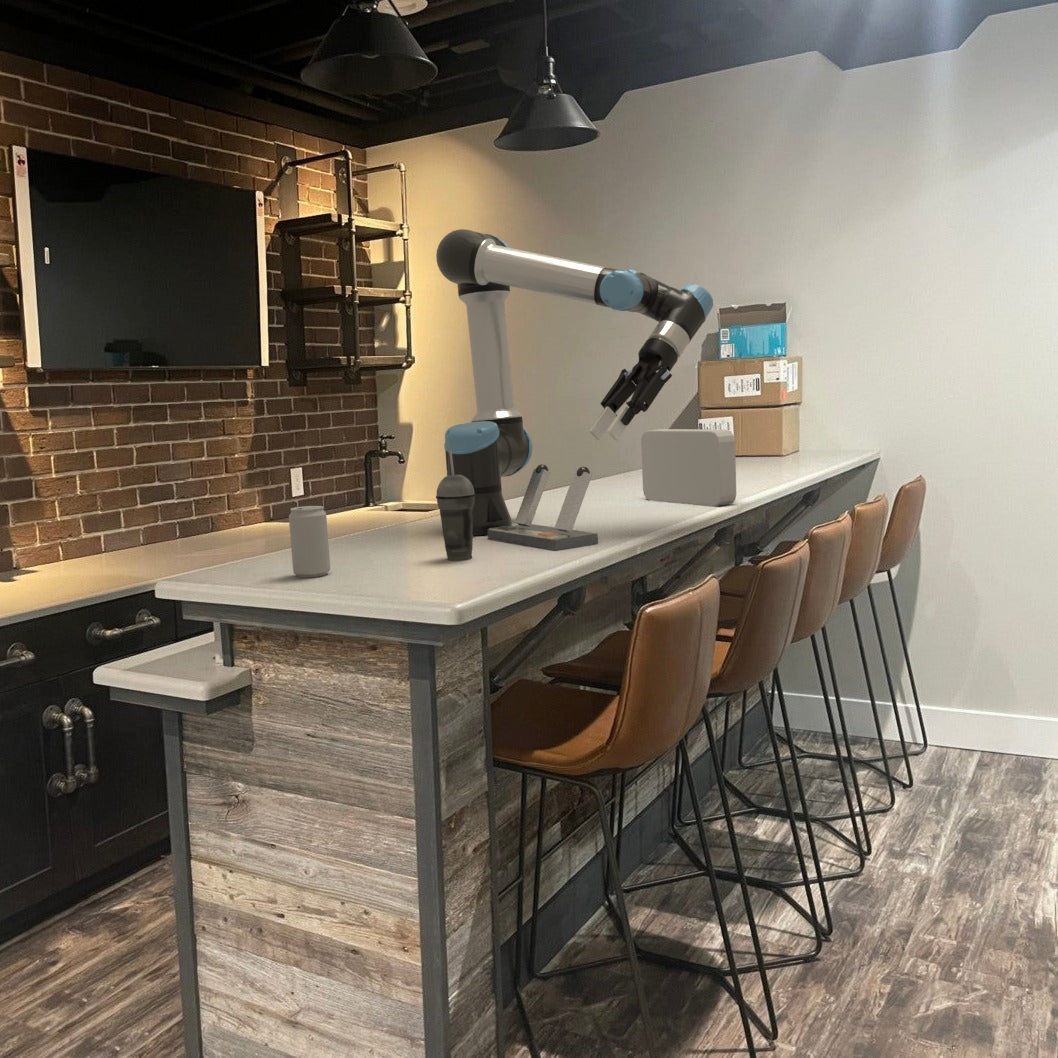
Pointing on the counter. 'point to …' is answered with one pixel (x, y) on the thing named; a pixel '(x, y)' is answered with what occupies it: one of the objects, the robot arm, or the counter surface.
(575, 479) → the outer lever
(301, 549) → the beverage can
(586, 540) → the switch base
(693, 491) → the gray rounded block
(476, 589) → the counter surface
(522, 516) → the inner lever
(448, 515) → the beverage cup
